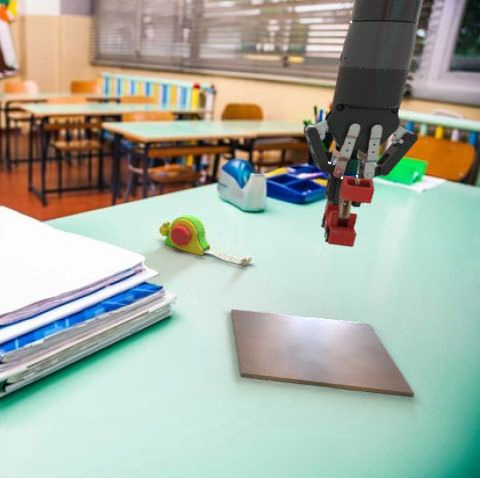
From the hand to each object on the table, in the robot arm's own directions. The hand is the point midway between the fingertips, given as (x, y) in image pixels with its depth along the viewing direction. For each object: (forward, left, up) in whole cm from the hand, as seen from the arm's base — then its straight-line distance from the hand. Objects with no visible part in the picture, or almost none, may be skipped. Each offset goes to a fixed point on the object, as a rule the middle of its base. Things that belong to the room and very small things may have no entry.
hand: (343, 204), depth 64 cm
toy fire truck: (0, 0, -5) cm, 5 cm away
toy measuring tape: (+16, -25, -19) cm, 36 cm away
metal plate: (+2, +6, -19) cm, 20 cm away
